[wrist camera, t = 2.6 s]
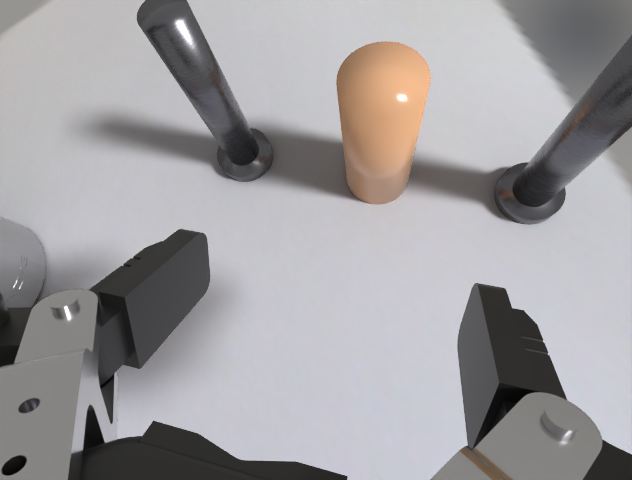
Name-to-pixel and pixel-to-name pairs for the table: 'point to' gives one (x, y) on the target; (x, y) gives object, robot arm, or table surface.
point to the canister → (381, 117)
